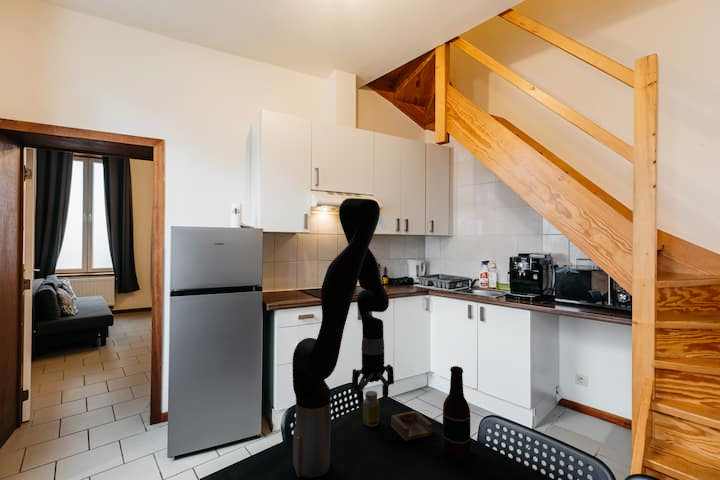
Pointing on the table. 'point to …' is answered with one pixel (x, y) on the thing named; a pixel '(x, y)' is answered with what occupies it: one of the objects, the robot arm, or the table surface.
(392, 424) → the u holder
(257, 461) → the table surface
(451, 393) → the beer bottle
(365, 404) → the supplement bottle
